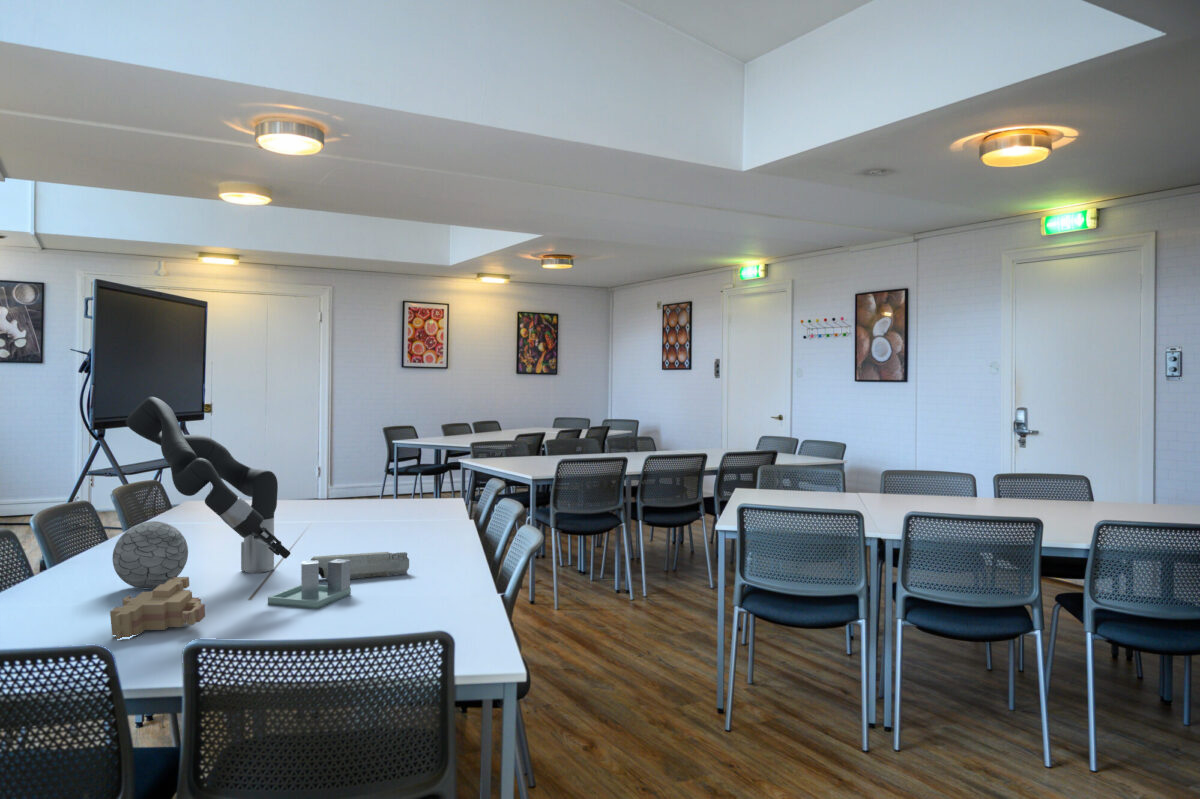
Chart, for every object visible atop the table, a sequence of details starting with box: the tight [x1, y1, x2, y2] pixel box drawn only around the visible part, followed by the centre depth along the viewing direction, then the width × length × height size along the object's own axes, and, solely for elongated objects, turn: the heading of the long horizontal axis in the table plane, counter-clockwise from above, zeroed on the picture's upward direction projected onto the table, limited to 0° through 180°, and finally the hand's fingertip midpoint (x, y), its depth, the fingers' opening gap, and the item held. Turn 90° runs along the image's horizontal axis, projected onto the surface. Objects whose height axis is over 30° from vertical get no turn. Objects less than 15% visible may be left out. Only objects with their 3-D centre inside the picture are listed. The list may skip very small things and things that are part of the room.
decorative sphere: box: [112, 520, 189, 589], centre depth 239 cm, size 20×20×20 cm
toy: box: [109, 576, 206, 640], centre depth 200 cm, size 10×20×20 cm
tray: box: [267, 584, 352, 610], centre depth 228 cm, size 16×16×2 cm
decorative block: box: [310, 551, 410, 581], centre depth 255 cm, size 8×30×8 cm, turn 115°
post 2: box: [327, 559, 351, 595], centre depth 232 cm, size 4×4×10 cm
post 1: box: [300, 560, 320, 600], centre depth 228 cm, size 4×4×10 cm
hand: (284, 554), depth 228 cm, fingers open, 8 cm apart
